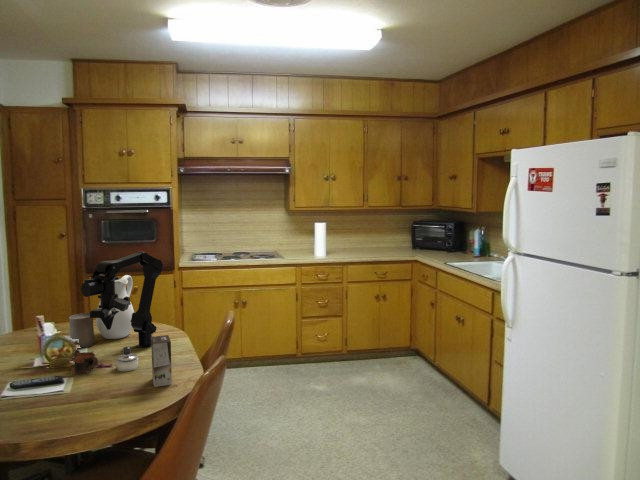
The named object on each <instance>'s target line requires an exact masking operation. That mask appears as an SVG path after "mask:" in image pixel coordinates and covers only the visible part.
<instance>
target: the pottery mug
mask: <svg viewBox="0 0 640 480" xmlns="http://www.w3.org/2000/svg"><path fill="white" fill-rule="evenodd" d="M73 356H74V357H72V359H71V362H72V363H74V367H73V368H70V369H71V370H70V371H71V375H76V374H77V375H86V374H87V373H88V371H93V370H94V368H96V366H97V365H98V363H99V360H98V358H97V356H96V354H95V353H93V352H77V353H74V354H73Z"/></svg>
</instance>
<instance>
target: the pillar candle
mask: <svg viewBox="0 0 640 480" xmlns="http://www.w3.org/2000/svg"><path fill="white" fill-rule="evenodd" d="M89 313H90V312H83V313H82V312H81V313H76V314H72V315H70V316H69V317H68V319H69V322H68V323H69V338H72V339H79V345H80V347H87V348H90V347H92V346H94V345H95V344H96V343H95V332H94V318H90V317H89Z"/></svg>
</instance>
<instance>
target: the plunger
mask: <svg viewBox="0 0 640 480" xmlns="http://www.w3.org/2000/svg"><path fill="white" fill-rule="evenodd" d="M122 350H123V351H122V353H123V354H120V355H118V356H117V358H116V359H118V360H119V361H130V360H134V359H136V358H137V356H138V355H137V354H136V353H132V347H131V346H124V347H123V348H122Z"/></svg>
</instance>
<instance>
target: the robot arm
mask: <svg viewBox="0 0 640 480" xmlns="http://www.w3.org/2000/svg"><path fill="white" fill-rule="evenodd" d="M135 264H136V265H137V264H139V265H140V266H141V267H142V274H143V277H144V278H143V283H142V288H141V294H140V299H139V304H138V309H137V310H136V312H134V313H132V318H131V321H130V322H131V326H132V329H133V331H134V333H138V344H136V345H135V348H152V347H151V337H153V334H154V333H156V332H157V328H158V327H157V326H156V325H155V324H154V323H153V316H152V313H151V307H152V302H153V296H154V291H155V286H156V281H157V278H158V277H160V275H161V274H162V270H163V267H164V265H163V262H162V260H160V259H157V258H156V257H154V256H152V255H150V254H148V252H146V251H136V252H134V253H132V254H129V255H125V256H123V257H120V258H117V259H114V260H113V259H111V260H103V261H100V262H98V263H97V265H96V268H95V270H94V272H93V273H92V275H91V277H90V278H89V279H88V278H86V279H84V280H83V281H84V282H83V283H82V284H81V287H80V292H81V294H82V296H83V297H85V298H89V297H93V296H97V299H99V302H100V305H99V304H98V305H99V306H98V305H97V308H102V309H97V308H93V309H92V310H90V311H89V312H88V313H89V317H90V318H93V319H96V318H100V319H101V320H102V321H103V323H104V325H105V326H106V328H107V330H110V329H111V326H112V323H113V319H114V316H115V315H116V314H117V313H118V312H119V311H116V309H119V310H120V311H125V310H127V309H128V307H129V305H130V304H132V302H131V298H130V297H127V296H126V297H124V298H118V295H117V294H115V280H119V279H120V277H118V276H117V274H119V273H120V272H121V270H123V269H126V268H128V267H131V266H133V265H135ZM130 302H131V303H130ZM115 308H116V309H115Z"/></svg>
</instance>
